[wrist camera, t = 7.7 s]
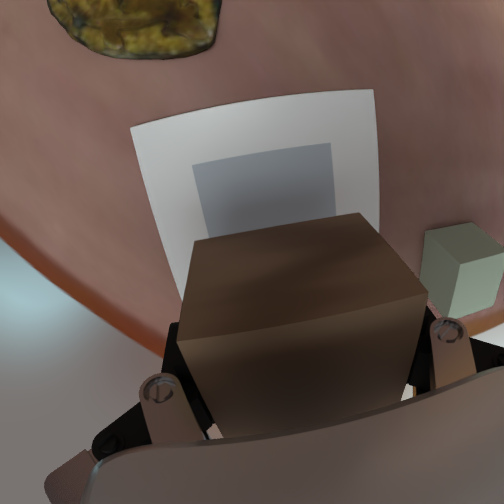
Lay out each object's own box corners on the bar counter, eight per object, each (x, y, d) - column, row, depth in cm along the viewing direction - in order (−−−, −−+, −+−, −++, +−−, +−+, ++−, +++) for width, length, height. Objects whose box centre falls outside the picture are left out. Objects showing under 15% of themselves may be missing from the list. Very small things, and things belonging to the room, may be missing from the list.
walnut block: (359, 212, 11) (428, 291, 7) (356, 332, 14) (394, 419, 10) (194, 240, 11) (176, 341, 7) (228, 356, 14) (231, 452, 10)
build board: (366, 88, 17) (373, 89, 16) (371, 280, 23) (376, 288, 23) (135, 125, 17) (129, 127, 16) (190, 312, 24) (189, 321, 23)
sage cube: (471, 221, 22) (508, 251, 17) (462, 272, 24) (493, 305, 20) (424, 230, 22) (460, 264, 17) (417, 284, 24) (446, 322, 20)
